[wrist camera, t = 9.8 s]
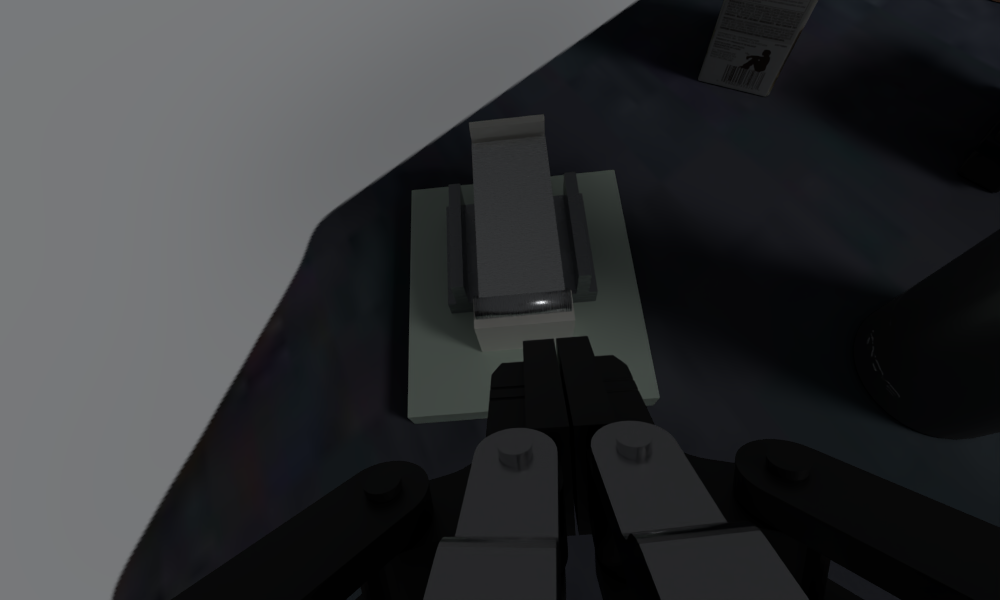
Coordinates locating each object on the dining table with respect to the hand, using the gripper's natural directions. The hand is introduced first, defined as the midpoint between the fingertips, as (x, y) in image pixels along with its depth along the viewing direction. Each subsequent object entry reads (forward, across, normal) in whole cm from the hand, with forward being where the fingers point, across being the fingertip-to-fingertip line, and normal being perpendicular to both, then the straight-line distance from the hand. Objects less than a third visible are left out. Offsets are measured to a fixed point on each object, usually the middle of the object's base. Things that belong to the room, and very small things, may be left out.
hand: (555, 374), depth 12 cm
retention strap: (+17, +1, +5) cm, 18 cm away
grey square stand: (+25, +1, +7) cm, 26 cm away
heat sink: (+25, +1, +4) cm, 25 cm away
